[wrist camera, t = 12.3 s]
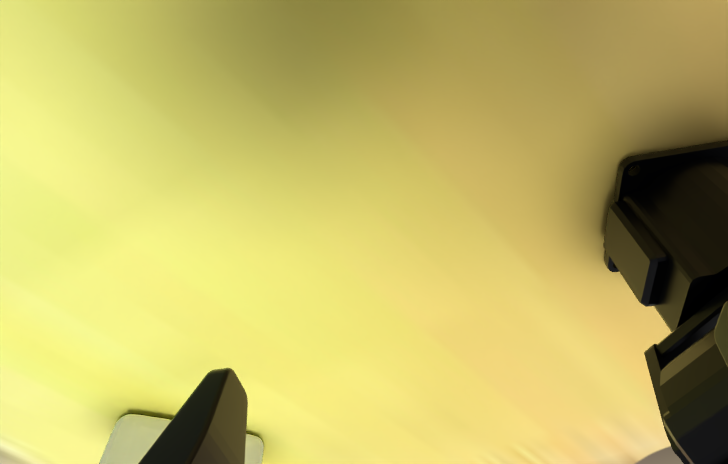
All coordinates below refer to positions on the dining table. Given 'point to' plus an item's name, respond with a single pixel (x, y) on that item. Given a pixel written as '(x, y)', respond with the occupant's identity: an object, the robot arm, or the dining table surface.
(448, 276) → the dining table surface
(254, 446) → the photo printer
